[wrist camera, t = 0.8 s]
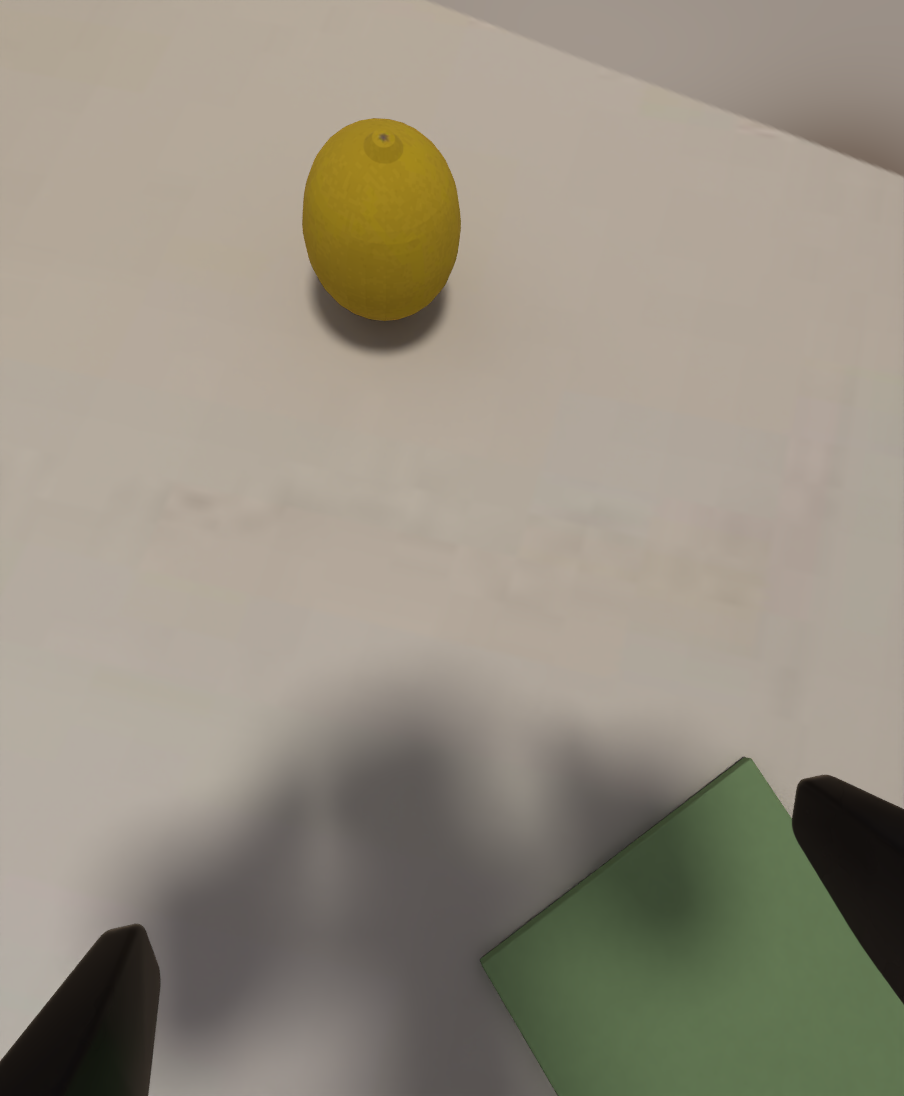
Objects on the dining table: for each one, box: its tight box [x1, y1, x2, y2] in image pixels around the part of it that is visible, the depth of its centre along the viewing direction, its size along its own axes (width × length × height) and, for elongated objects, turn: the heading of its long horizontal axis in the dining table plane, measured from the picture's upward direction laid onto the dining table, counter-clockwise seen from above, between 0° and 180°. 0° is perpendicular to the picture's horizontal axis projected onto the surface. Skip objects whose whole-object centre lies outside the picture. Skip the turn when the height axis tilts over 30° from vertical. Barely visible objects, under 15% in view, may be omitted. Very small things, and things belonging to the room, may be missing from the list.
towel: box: [480, 757, 904, 1096], centre depth 22 cm, size 14×12×1 cm
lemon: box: [302, 118, 461, 321], centre depth 23 cm, size 6×6×8 cm
